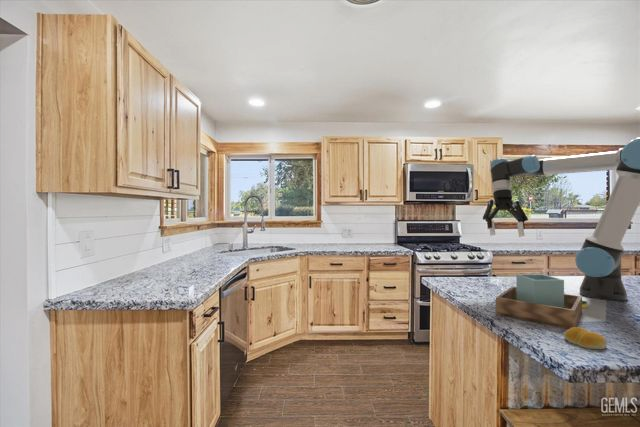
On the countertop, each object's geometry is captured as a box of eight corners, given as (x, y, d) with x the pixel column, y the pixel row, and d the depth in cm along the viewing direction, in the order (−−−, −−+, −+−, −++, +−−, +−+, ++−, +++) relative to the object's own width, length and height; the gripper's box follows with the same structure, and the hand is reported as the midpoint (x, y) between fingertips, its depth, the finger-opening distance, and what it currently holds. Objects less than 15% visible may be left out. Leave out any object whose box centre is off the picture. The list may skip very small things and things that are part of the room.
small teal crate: (543, 306, 120) (543, 274, 119) (564, 315, 110) (564, 280, 109) (516, 306, 119) (516, 274, 119) (534, 315, 109) (534, 280, 109)
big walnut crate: (582, 313, 115) (582, 296, 115) (574, 330, 99) (574, 310, 99) (512, 301, 130) (512, 286, 130) (495, 314, 114) (495, 297, 114)
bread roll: (595, 353, 84) (595, 337, 84) (559, 340, 92) (559, 326, 92) (614, 347, 87) (614, 333, 87) (577, 335, 95) (577, 322, 95)
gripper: (522, 194, 156) (527, 238, 151) (472, 192, 154) (476, 235, 149) (533, 189, 149) (539, 235, 143) (480, 187, 147) (485, 232, 142)
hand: (507, 235), depth 146 cm, fingers open, 13 cm apart
